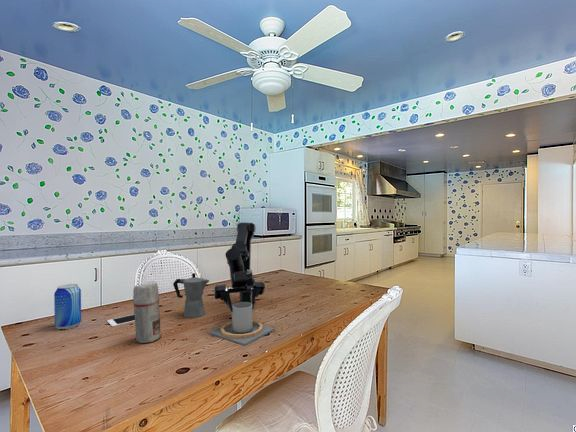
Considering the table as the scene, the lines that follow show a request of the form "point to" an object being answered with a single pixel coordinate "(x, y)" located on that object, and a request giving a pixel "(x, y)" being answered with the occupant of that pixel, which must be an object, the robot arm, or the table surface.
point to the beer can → (67, 306)
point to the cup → (242, 317)
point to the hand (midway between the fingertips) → (242, 310)
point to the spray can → (146, 312)
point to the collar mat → (242, 338)
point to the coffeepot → (192, 295)
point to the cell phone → (122, 320)
